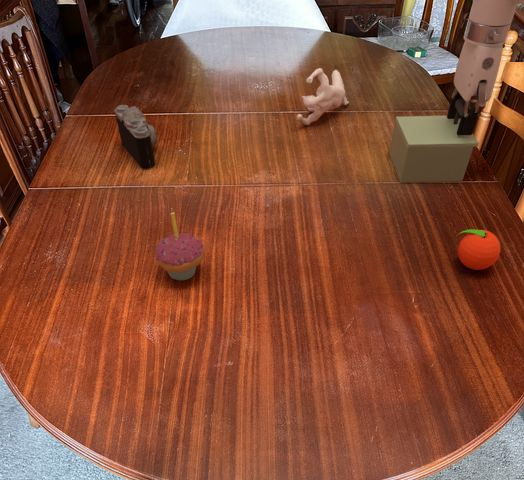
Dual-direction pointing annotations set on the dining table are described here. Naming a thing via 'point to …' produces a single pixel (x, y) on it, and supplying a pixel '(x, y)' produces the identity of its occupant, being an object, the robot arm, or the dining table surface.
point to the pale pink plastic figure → (324, 96)
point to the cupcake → (179, 253)
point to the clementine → (478, 249)
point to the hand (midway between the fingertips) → (459, 125)
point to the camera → (136, 135)
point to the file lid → (435, 130)
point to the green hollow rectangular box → (427, 161)
